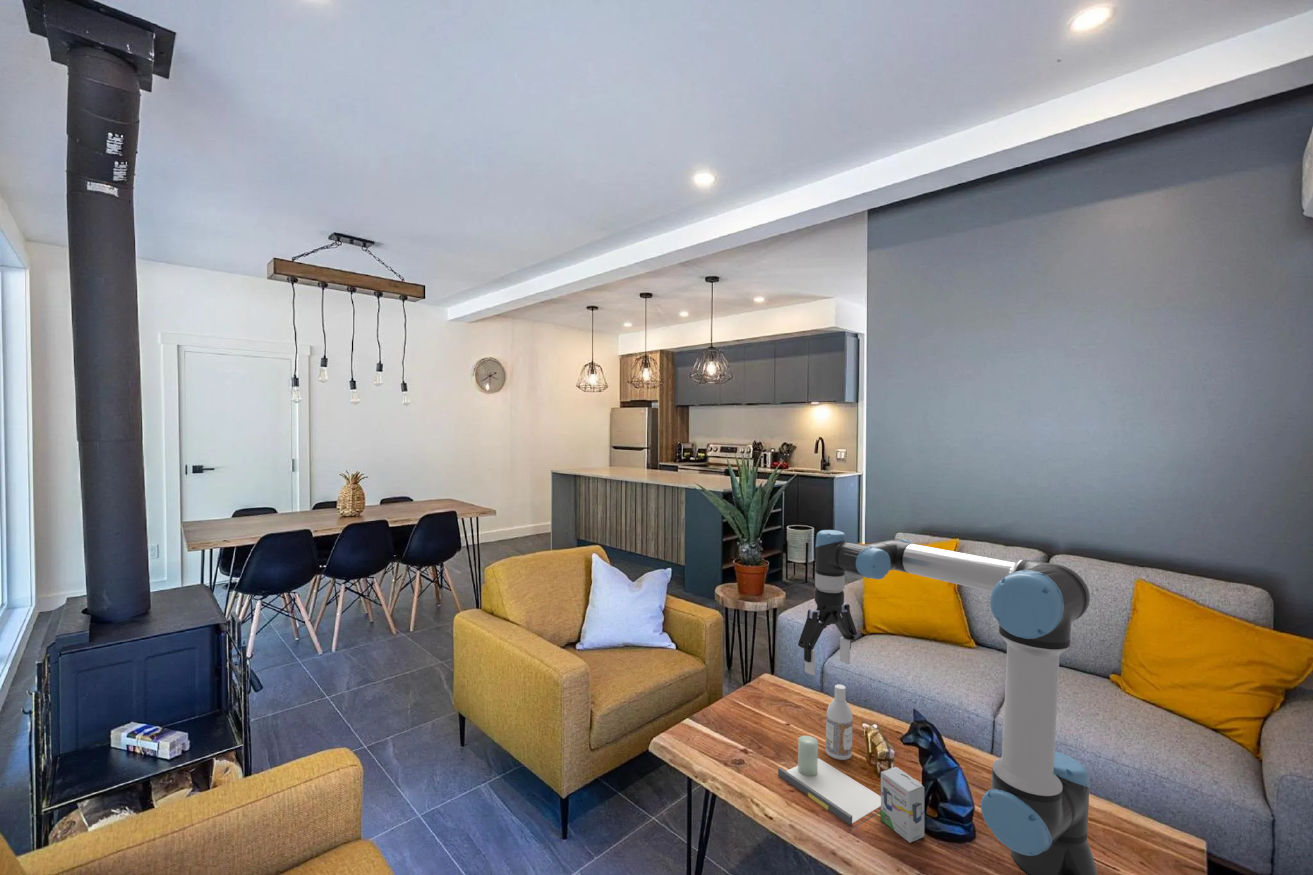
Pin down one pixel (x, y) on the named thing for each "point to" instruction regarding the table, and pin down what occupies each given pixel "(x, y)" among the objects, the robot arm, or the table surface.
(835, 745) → the bath foam
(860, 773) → the table surface
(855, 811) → the shelf board
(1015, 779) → the robot arm
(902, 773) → the ink box
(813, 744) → the sage canister
